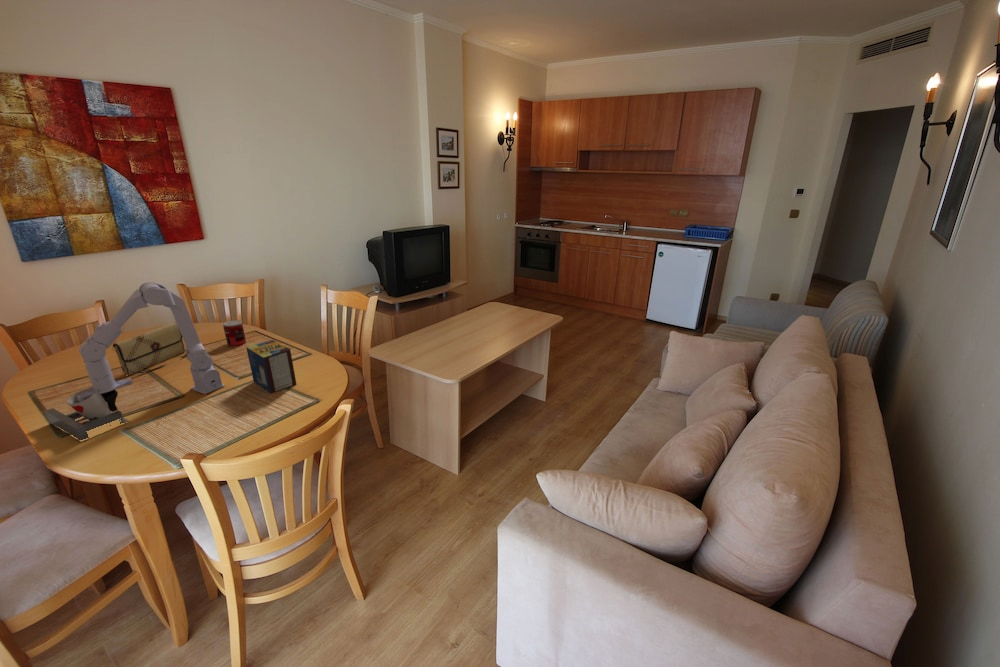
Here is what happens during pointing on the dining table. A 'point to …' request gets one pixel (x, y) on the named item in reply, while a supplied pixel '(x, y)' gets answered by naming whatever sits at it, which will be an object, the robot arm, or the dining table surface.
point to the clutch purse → (149, 349)
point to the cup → (89, 405)
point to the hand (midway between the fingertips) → (113, 410)
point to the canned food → (234, 333)
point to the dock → (76, 428)
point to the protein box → (271, 365)
